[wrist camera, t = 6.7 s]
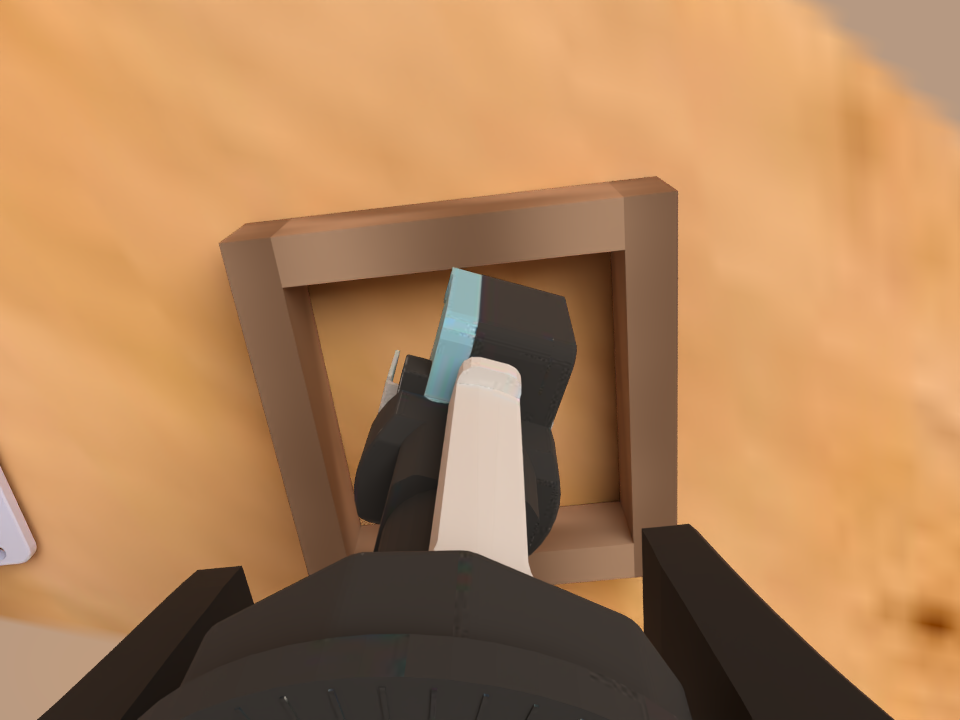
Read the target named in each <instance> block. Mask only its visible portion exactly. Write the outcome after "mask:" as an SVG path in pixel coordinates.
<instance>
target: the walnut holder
mask: <svg viewBox="0 0 960 720" xmlns="http://www.w3.org/2000/svg"><path fill="white" fill-rule="evenodd" d="M219 246H220V250H221V254H222V257H223V261H224V265H225V269H226V272H227V276H228V280H229V283H230V287H231V291H232V294H233V298H234V302H235V305H236V309H237V313H238V316H239V320H240V324H241V327H242V331H243V335H244V338H245V342H246V346H247V350H248V353H249V357H250V361H251V364H252V368H253V372H254V375H255V379H256V383H257V386H258V390H259V394H260V397H261V401H262V405H263V408H264V412H265V416H266V419H267V423H268V427H269V431H270V434H271V438H272V442H273V445H274V449H275V453H276V456H277V460H278V464H279V467H280V471H281V475H282V478H283V482H284V486H285V489H286V493H287V497H288V500H289V504H290V508H291V512H292V515H293V519H294V523H295V526H296V530H297V534H298V537H299V541H300V545H301V548H302V552H303V556H304V559H305V563H306V567H307V570H308V574H309V576H310V575H312V574H314V573H315V572H317V571H319V570H321V569H323V568H325V567H327V566H329V565H331V564H333V563H335V562H337V561H339V560H341V559H343V558H345V557H347V556H349V555H351V554H356V553H361V552H373V551H374V547H375V542H376V538H377V534H378V530H379V526H380V524H374V525H363V526H361V524H360V519H359V516H358V514H357V510H356V505H355V501H354V492H353V488H352V483H351V479H350V475H349V470H348V466H347V461H346V457H345V452H344V448H343V443H342V439H341V434H340V430H339V426H338V421H337V417H336V412H335V408H334V403H333V399H332V394H331V390H330V385H329V381H328V377H327V372H326V368H325V363H324V359H323V354H322V350H321V345H320V341H319V336H318V332H317V327H316V323H315V319H314V314H313V310H312V305H311V301H310V296H309V292H308V287H307V285H312V284H321V283H330V282H339V281H348V280H357V279H366V278H375V277H384V276H393V275H402V274H411V273H420V272H429V271H438V270H447V269H452V268H453V267H454V268H465V267H474V266H483V265H492V264H501V263H510V262H519V261H528V260H537V259H546V258H555V257H564V256H573V255H582V254H591V253H600V252H609V251H611V272H612V299H613V325H614V352H615V378H616V405H617V432H618V458H619V485H620V501H615V502H605V503H594V504H584V505H573V506H563V507H559V510H558V514H557V517H556V520H555V522H554V524H553V527H552V529H551V531H550V533H549V534H548V536H547V537H546V538H545V540H544V541H543V543H542V544H541V545H540V546H539V547H538V548H537V549H536V550H535V551H534V552H533V553H532V554H531V555H530V556H528V563H529V567H530V570H531V574H532V575H533V577H535V578H537V579H539V580H542V581H544V582H547V583H549V584H551V585H556V584H567V583H578V582H589V581H600V580H611V579H622V578H633V577H643V571H642V528H651V527H662V526H673V525H677V372H678V191H677V190H676V189H674V188H673V187H671V186H670V185H669V184H667V183H666V182H664V181H663V180H661V179H660V178H658V177H657V176H655V177H646V178H638V179H629V180H620V181H612V182H603V183H594V184H586V185H577V186H568V187H560V188H551V189H542V190H534V191H525V192H516V193H508V194H499V195H490V196H482V197H473V198H464V199H455V200H447V201H438V202H429V203H421V204H412V205H403V206H395V207H386V208H377V209H369V210H360V211H351V212H343V213H334V214H325V215H317V216H308V217H299V218H291V219H282V220H273V221H264V222H256V223H247V224H245V225H243V226H242V227H240V228H239V229H238V230H236V231H235V232H234V233H232V234H231V235H229V236H228V237H227V238H225V239H224V240H223V241H221V242H220V243H219Z"/></svg>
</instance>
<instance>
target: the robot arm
mask: <svg viewBox="0 0 960 720" xmlns="http://www.w3.org/2000/svg"><path fill="white" fill-rule="evenodd" d="M0 548H2V549H3V550H4V551H3V550H1V549H0V566H1V565H11V564H21V563H24V562H27V561H28V560H29V559H30V558H31V557H32V556H33V555H34V553H35V552H36V549H37V546H36V542H35V540H34V538H33V536H32V534H31V531H30V529H29V527H28V525H27V523H26V521H25V519H24V516H23V514H22V512H21V510H20V508H19V506H18V503H17V501H16V499H15V497H14V495H13V493H12V490H11V488H10V486H9V484H8V482H7V480H6V478H5V475H4V473H3V471H2V469H1V467H0ZM642 571H643V614H644V634H645V635H646V636H647V638H648V639H649V640H650V642H651V643H652V645H653V646H654V647H655V649H656V650H657V651H658V653H659V654H660V656H661V657H662V658H663V660H664V661H665V662H666V664H667V665H668V666H669V668H670V669H671V671H672V672H673V673H674V675H675V676H676V677H677V679H678V680H679V682H680V683H681V684H682V687H683V689H684V692H685V695H686V699H687V702H688V706H689V710H690V713H691V717H692V720H894V719H893V718H892V717H891V716H889V715H888V714H887V713H886V712H885V711H884V710H882V709H881V708H880V707H879V706H878V705H877V704H875V703H874V702H873V701H872V700H871V699H870V698H868V697H867V696H866V695H865V694H864V693H863V692H861V691H860V690H859V689H858V688H857V687H856V686H855V685H853V684H852V683H851V682H850V681H849V680H848V679H846V678H845V677H844V676H843V675H842V674H841V673H840V672H839V671H838V670H836V669H835V668H834V667H833V666H832V665H831V664H830V663H829V662H828V661H827V660H825V659H824V658H823V657H822V656H821V655H820V654H819V653H818V652H817V651H816V650H815V649H814V648H813V647H811V646H810V645H809V644H808V643H807V642H806V641H805V640H804V639H803V638H802V637H801V636H800V635H799V634H798V633H797V632H796V631H795V630H794V629H792V628H791V627H790V626H789V625H788V624H787V623H786V622H785V621H784V620H783V619H782V618H781V617H780V616H779V615H778V614H777V613H776V612H775V611H774V610H773V609H772V608H771V607H770V606H769V605H768V604H767V603H766V602H765V601H764V600H763V599H762V598H761V597H760V596H759V595H758V594H757V593H756V592H755V591H754V590H753V589H752V588H751V587H750V586H749V585H748V584H747V583H746V582H745V581H744V580H743V579H742V578H741V577H740V576H739V575H738V574H737V573H736V572H735V571H734V570H733V569H732V568H731V567H730V566H729V564H728V563H727V562H726V561H725V560H724V559H723V558H722V557H721V556H720V555H719V554H718V553H717V552H716V551H715V549H714V548H713V547H712V546H711V545H710V544H709V543H708V542H707V541H706V540H705V539H704V538H703V536H702V535H701V534H700V533H699V532H698V531H697V530H696V529H695V528H693V527H692V526H691V525H690V524H683V525H673V526H662V527H651V528H642ZM253 604H254V602H253V599H252V596H251V593H250V590H249V587H248V583H247V580H246V577H245V574H244V571H243V568H242V566H236V567H226V568H215V569H205V570H197V571H196V572H195V573H194V574H192V575H191V576H190V577H189V578H188V579H187V580H186V581H184V582H183V583H182V584H181V585H180V586H179V587H178V588H177V589H176V590H175V591H174V592H172V593H171V594H170V595H169V596H168V597H167V598H166V599H165V600H164V601H163V602H162V603H161V604H160V605H159V606H158V607H157V608H156V609H155V610H153V611H152V612H151V613H150V614H149V615H148V616H147V617H146V618H145V619H144V620H143V621H142V622H141V623H140V624H139V625H138V626H137V627H136V628H135V629H134V630H133V631H132V632H131V633H130V634H129V635H127V636H126V637H125V638H124V639H123V640H122V641H121V642H120V643H119V644H118V645H117V646H116V647H115V648H114V649H113V650H112V651H111V652H110V653H109V654H108V655H106V656H105V657H104V659H102V660H101V661H100V662H99V663H98V664H97V665H96V666H95V667H94V668H93V669H92V670H91V671H90V672H88V673H87V674H86V675H85V676H84V677H83V678H82V679H81V680H80V681H79V682H78V683H77V684H76V685H75V686H74V687H73V688H72V689H70V690H69V691H68V692H67V693H66V694H65V695H64V696H63V697H62V698H61V699H60V700H59V701H58V702H57V703H55V704H54V705H53V706H52V707H51V708H50V709H49V710H48V711H46V712H45V713H44V714H43V715H42V716H41V717H40V718H39V719H37V720H137V719H138V718H139V717H141V716H142V715H143V714H144V713H145V712H146V711H148V710H149V709H150V708H151V707H152V706H153V705H155V704H156V703H157V702H158V701H159V700H161V699H162V698H164V697H165V696H167V695H168V694H170V693H171V692H173V691H174V690H176V689H177V688H179V687H180V686H181V683H182V681H183V679H184V677H185V675H186V673H187V671H188V669H189V667H190V665H191V663H192V661H193V659H194V657H195V655H196V653H197V651H198V649H199V647H200V644H201V642H202V640H203V638H204V636H205V635H206V633H207V632H208V631H209V630H210V629H211V627H212V626H214V625H215V624H217V623H218V622H220V621H222V620H224V619H226V618H228V617H230V616H232V615H234V614H236V613H238V612H239V611H241V610H243V609H245V608H247V607H249V606H251V605H253Z"/></svg>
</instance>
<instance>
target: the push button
mask: <svg viewBox="0 0 960 720" xmlns="http://www.w3.org/2000/svg"><path fill="white" fill-rule="evenodd" d="M444 303H445V304H444V308H443V312H442V316H441V319H440V323H439V327H438V331H437V334H436V338H435V342H434V345H433V349H432V353H431V357H430V360H428V359H424V358H420V357H416V356H413V355H407V356H406V360H405V363H404V367H403V370H402V374H401V378H400V382H399V384H396V383H393V378H394V374H395V370H396V366H397V362H398V358H399V353H400V351H398V350H396V351H395V355H394V358H393V361H392V364H391V367H390V370H389V373H388V377H387V380H386V383H385V387H384V391H383V395H382V399H381V404H380V408H379V412H378V415H377V417H376V418H375V420H374V422H373V424H372V426H371V429H370V432H369V435H368V438H367V441H366V444H365V447H364V450H363V453H362V456H361V459H360V462H359V465H358V469H357V472H356V477H355V483H354V501H355V505H356V510H357V514H358V516H359V517H360V518H362V519H364V520H366V521H368V522H371V523H375V524H380V526H379V530H378V534H377V538H376V542H375V547H374V551H373V552H361V553H356V554H351V555H349V556H347V557H345V558H343V559H341V560H339V561H337V562H335V563H333V564H331V565H329V566H327V567H325V568H323V569H321V570H319V571H317V572H315V573H314V574H312V575H310V576H308V577H306V578H304V579H302V580H300V581H298V582H296V583H294V584H292V585H290V586H288V587H286V588H284V589H282V590H280V591H278V592H277V593H275V594H273V595H271V596H269V597H267V598H265V599H263V600H261V601H259V602H257V603H255V604H253V605H251V606H249V607H247V608H245V609H243V610H241V611H239V612H238V613H236V614H234V615H232V616H230V617H228V618H226V619H224V620H222V621H220V622H218V623H217V624H215V625H214V626H212V627H211V629H210V630H209V631H208V632H207V633H206V635H205V636H204V638H203V640H202V642H201V644H200V647H199V649H198V651H197V653H196V655H195V657H194V659H193V661H192V663H191V665H190V667H189V669H188V671H187V673H186V675H185V677H184V679H183V681H182V683H181V686H180V687H179V688H177V689H176V690H174V691H173V692H171V693H170V694H168V695H167V696H165V697H164V698H162V699H161V700H159V701H158V702H157V703H156V704H155V705H153V706H152V707H151V708H150V709H149V710H148V711H146V712H145V713H144V714H143V715H142V716H141V717H139V718H138V719H137V720H692V717H691V713H690V710H689V706H688V702H687V699H686V695H685V692H684V689H683V687H682V684H681V683H680V682H679V680H678V679H677V677H676V676H675V675H674V673H673V672H672V671H671V669H670V668H669V666H668V665H667V664H666V662H665V661H664V660H663V658H662V657H661V656H660V654H659V653H658V651H657V650H656V649H655V647H654V646H653V645H652V643H651V642H650V640H649V639H648V638H647V636H646V635H645V634H644V632H643V631H642V629H641V628H640V627H639V626H638V625H637V624H636V623H635V622H634V621H633V620H632V619H630V618H628V617H626V616H625V615H623V614H620V613H618V612H616V611H613V610H611V609H608V608H606V607H604V606H601V605H599V604H597V603H594V602H592V601H589V600H587V599H585V598H582V597H580V596H578V595H575V594H573V593H570V592H568V591H566V590H563V589H561V588H559V587H556V586H554V585H551V584H549V583H547V582H544V581H542V580H539V579H537V578H535V577H533V575H532V574H531V570H530V567H529V563H528V556H530V555H531V554H532V553H533V552H534V551H535V550H536V549H537V548H538V547H539V546H540V545H541V544H542V543H543V541H544V540H545V538H546V537H547V536H548V534H549V533H550V531H551V529H552V527H553V524H554V522H555V520H556V517H557V514H558V510H559V505H560V496H561V493H560V479H559V471H558V464H557V457H556V449H555V442H554V439H553V435H552V431H551V429H552V426H553V423H554V422H553V421H554V419H555V416H556V413H557V410H558V408H559V405H560V402H561V400H562V397H563V394H564V392H565V389H566V386H567V384H568V381H569V378H570V375H571V373H572V370H573V367H574V363H575V359H576V352H577V345H576V341H575V337H574V333H573V329H572V325H571V321H570V317H569V312H568V308H567V304H566V300H565V297H563V296H559V295H555V294H552V293H548V292H545V291H541V290H537V289H534V288H530V287H526V286H522V285H519V284H515V283H511V282H508V281H504V280H500V279H496V278H493V277H489V276H485V275H480V274H476V273H473V272H469V271H465V270H462V269H458V268H454V267H453V268H452V271H451V275H450V279H449V283H448V286H447V290H446V294H445V298H444Z"/></svg>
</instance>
